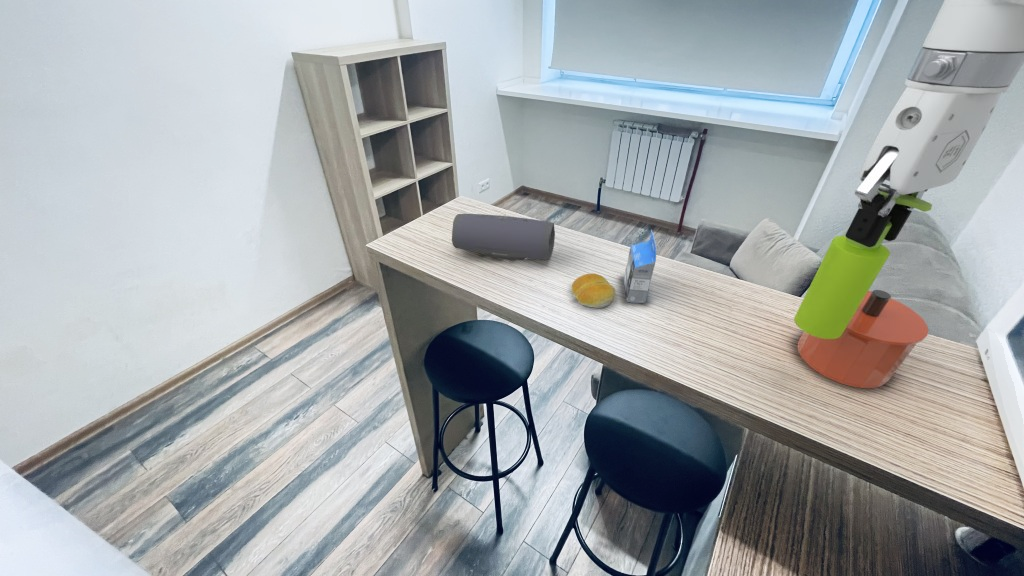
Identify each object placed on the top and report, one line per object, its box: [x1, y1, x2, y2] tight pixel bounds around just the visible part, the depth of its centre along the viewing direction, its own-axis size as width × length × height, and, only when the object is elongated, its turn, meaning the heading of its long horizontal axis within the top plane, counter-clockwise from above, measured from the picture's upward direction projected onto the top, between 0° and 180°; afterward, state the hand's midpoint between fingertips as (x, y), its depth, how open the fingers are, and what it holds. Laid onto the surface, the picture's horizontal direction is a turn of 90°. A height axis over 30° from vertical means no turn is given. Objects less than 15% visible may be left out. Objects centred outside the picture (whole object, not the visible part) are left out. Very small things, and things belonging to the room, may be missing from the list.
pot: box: [797, 330, 918, 389], centre depth 65 cm, size 13×13×10 cm
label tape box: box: [623, 229, 658, 304], centre depth 81 cm, size 9×4×12 cm, turn 171°
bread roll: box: [571, 273, 616, 309], centre depth 82 cm, size 8×9×4 cm
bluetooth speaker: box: [451, 213, 556, 262], centre depth 95 cm, size 23×9×10 cm, turn 76°
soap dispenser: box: [793, 190, 933, 339], centre depth 53 cm, size 6×7×20 cm
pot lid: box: [845, 289, 929, 345], centre depth 61 cm, size 14×14×5 cm
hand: (869, 237), depth 50 cm, fingers closed on soap dispenser, 3 cm apart
